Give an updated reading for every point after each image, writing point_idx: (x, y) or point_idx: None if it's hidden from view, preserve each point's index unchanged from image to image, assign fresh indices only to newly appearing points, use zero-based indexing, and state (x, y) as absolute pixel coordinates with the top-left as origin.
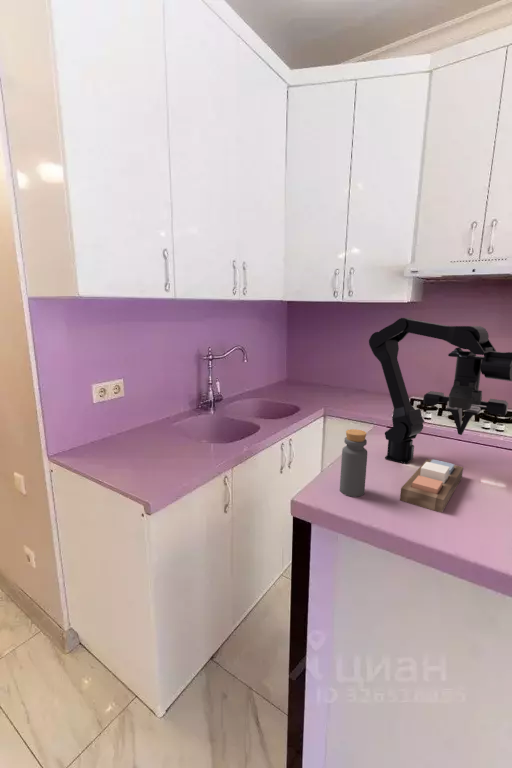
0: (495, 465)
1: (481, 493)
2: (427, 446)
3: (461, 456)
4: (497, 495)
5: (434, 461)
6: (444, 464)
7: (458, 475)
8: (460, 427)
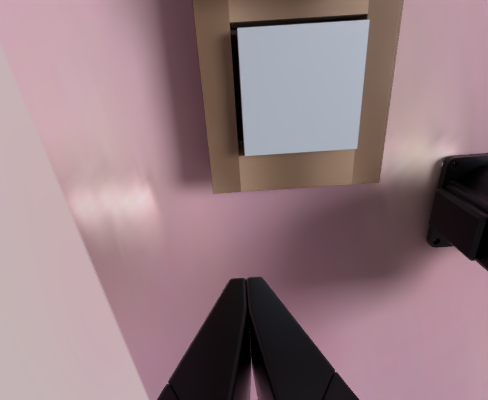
0: (162, 361)
1: (99, 51)
2: (386, 380)
3: None
4: (47, 82)
5: (342, 119)
6: (286, 110)
7: (199, 61)
8: (252, 338)
